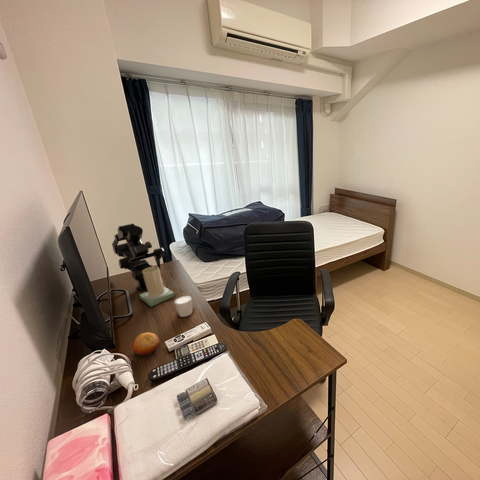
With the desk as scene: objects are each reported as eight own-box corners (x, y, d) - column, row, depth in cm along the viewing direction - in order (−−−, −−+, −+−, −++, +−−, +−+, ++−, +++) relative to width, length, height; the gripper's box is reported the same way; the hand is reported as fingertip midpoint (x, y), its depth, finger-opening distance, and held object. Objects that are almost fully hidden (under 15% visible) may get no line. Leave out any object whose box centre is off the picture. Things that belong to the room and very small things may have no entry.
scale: (140, 298, 126) (139, 293, 125) (163, 288, 134) (162, 284, 133) (150, 306, 119) (149, 301, 118) (174, 296, 128) (173, 291, 127)
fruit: (139, 339, 97) (145, 325, 95) (158, 348, 99) (165, 334, 96) (123, 356, 90) (129, 341, 87) (144, 365, 91) (151, 350, 88)
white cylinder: (197, 308, 118) (194, 296, 115) (188, 318, 112) (185, 304, 109) (183, 307, 119) (180, 295, 116) (174, 317, 112) (170, 304, 110)
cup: (145, 295, 123) (138, 272, 119) (157, 288, 129) (151, 265, 125) (156, 297, 122) (150, 273, 117) (168, 290, 128) (162, 267, 123)
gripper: (113, 243, 114) (127, 272, 111) (158, 232, 127) (172, 258, 124) (113, 254, 121) (127, 282, 118) (156, 243, 134) (169, 268, 132)
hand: (149, 272), depth 123 cm, fingers open, 9 cm apart
